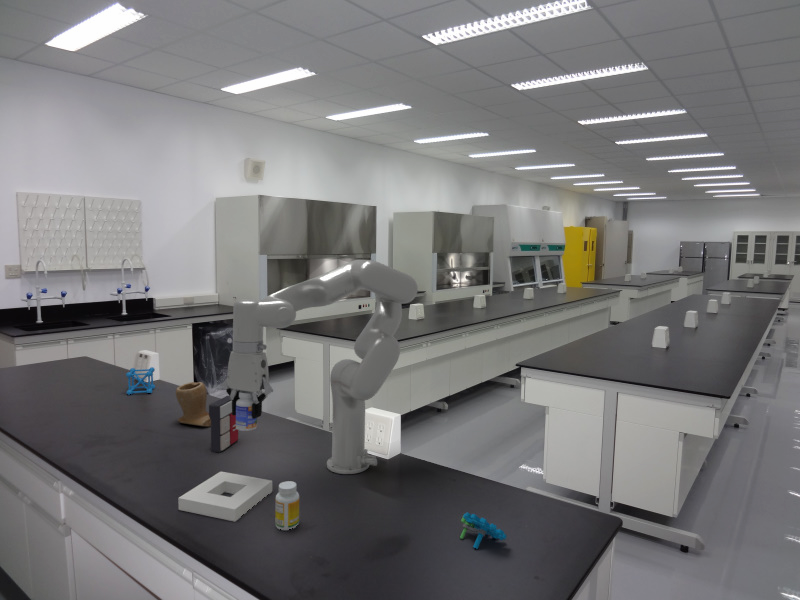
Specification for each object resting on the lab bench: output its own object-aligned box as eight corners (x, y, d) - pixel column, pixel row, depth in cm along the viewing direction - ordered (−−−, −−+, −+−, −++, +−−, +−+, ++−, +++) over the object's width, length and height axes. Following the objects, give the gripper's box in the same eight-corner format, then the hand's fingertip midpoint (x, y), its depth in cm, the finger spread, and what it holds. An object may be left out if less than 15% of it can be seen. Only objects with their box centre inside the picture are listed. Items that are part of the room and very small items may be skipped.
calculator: (221, 453, 159) (221, 406, 157) (209, 451, 160) (208, 404, 158) (239, 440, 170) (239, 396, 168) (227, 439, 170) (227, 395, 169)
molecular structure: (130, 389, 227) (130, 367, 226) (155, 388, 230) (155, 366, 229) (126, 396, 217) (125, 372, 216) (151, 394, 220) (151, 371, 219)
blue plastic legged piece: (515, 539, 111) (492, 517, 107) (505, 566, 109) (480, 544, 104) (477, 525, 120) (454, 504, 115) (466, 549, 117) (442, 528, 113)
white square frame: (272, 491, 134) (272, 480, 134) (235, 521, 119) (234, 509, 119) (220, 482, 139) (220, 471, 139) (178, 509, 124) (178, 497, 124)
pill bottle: (250, 432, 131) (251, 395, 130) (231, 429, 132) (232, 393, 132) (260, 425, 136) (261, 390, 136) (242, 423, 138) (243, 388, 137)
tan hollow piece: (168, 425, 182) (168, 384, 181) (195, 416, 193) (194, 377, 192) (200, 432, 176) (199, 390, 175) (225, 422, 187) (225, 382, 185)
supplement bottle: (273, 531, 115) (273, 490, 115) (277, 519, 121) (277, 479, 120) (298, 530, 116) (298, 489, 115) (300, 518, 121) (300, 479, 120)
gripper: (284, 348, 133) (282, 416, 135) (229, 342, 139) (228, 407, 140) (268, 352, 126) (266, 424, 128) (210, 346, 132) (209, 415, 133)
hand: (246, 414), depth 134 cm, fingers closed on pill bottle, 5 cm apart
